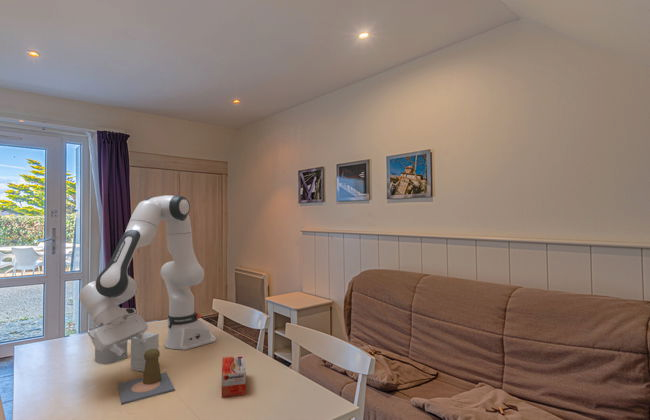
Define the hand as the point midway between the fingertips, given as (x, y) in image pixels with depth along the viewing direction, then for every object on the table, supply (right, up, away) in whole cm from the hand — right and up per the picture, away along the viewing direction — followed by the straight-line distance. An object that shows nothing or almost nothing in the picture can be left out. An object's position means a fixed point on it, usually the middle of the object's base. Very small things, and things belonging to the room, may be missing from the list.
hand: (133, 349), depth 124 cm
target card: (+5, -13, -2) cm, 14 cm away
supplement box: (-4, -13, +15) cm, 20 cm away
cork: (+6, -12, +2) cm, 14 cm away
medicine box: (+36, -13, -1) cm, 38 cm away
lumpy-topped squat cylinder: (-24, -14, +24) cm, 36 cm away
